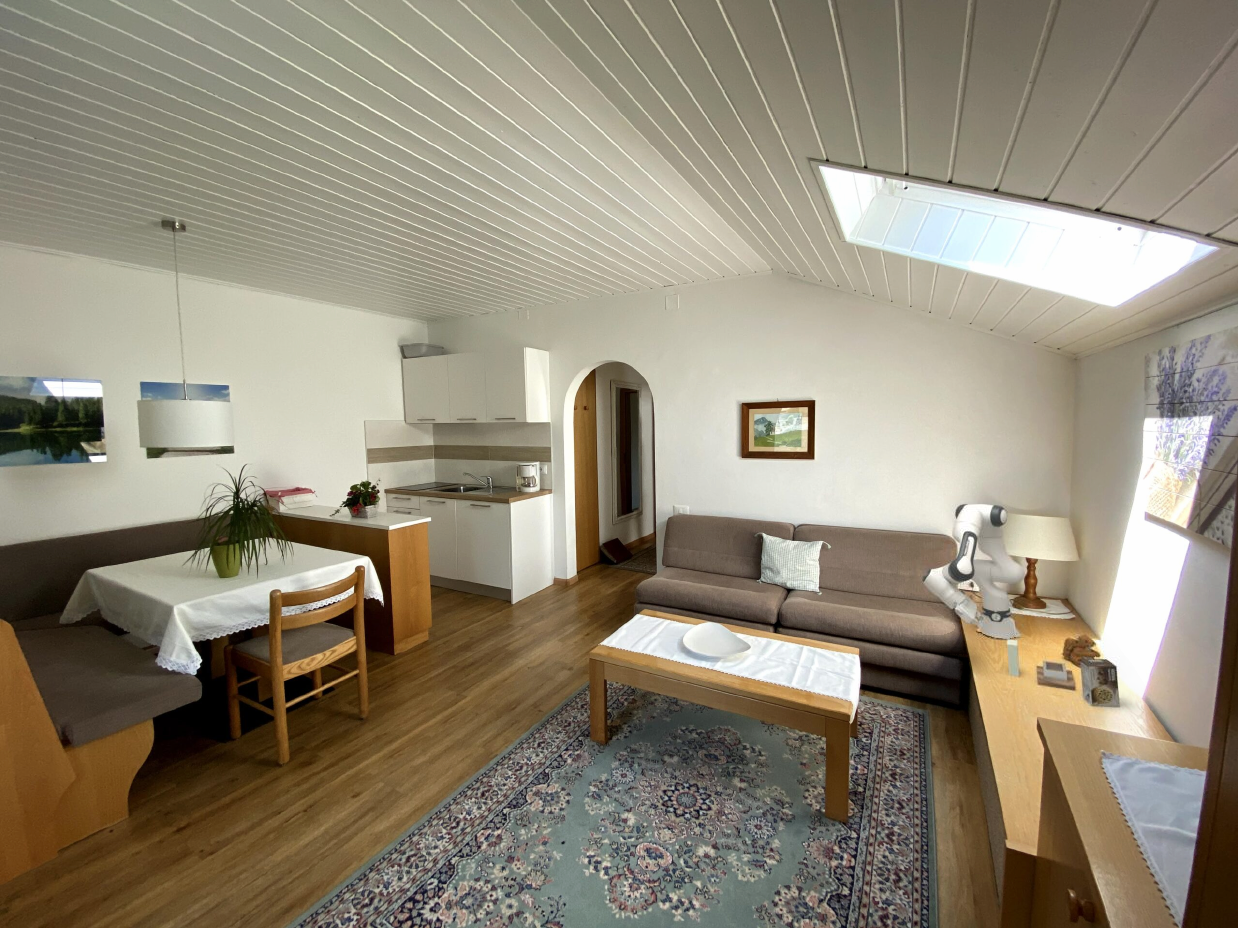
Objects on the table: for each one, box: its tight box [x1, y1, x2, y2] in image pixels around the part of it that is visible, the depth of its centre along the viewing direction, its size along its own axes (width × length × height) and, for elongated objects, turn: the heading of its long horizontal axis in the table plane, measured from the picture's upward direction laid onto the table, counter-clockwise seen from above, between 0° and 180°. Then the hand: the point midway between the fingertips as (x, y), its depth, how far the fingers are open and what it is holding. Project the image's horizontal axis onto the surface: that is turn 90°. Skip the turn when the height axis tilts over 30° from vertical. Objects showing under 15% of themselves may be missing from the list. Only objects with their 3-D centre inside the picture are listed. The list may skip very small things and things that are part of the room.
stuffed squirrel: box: [1061, 633, 1101, 669], centre depth 234 cm, size 10×14×13 cm
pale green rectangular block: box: [1006, 639, 1020, 677], centre depth 231 cm, size 6×4×14 cm, turn 143°
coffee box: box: [1080, 658, 1121, 707], centre depth 203 cm, size 9×6×16 cm
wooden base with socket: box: [1036, 660, 1076, 691], centre depth 223 cm, size 16×12×6 cm
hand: (982, 622), depth 237 cm, fingers open, 8 cm apart
